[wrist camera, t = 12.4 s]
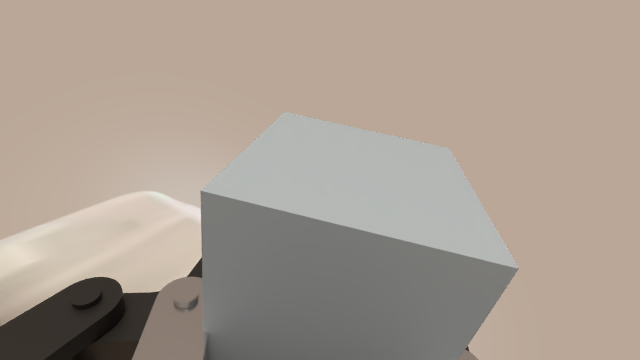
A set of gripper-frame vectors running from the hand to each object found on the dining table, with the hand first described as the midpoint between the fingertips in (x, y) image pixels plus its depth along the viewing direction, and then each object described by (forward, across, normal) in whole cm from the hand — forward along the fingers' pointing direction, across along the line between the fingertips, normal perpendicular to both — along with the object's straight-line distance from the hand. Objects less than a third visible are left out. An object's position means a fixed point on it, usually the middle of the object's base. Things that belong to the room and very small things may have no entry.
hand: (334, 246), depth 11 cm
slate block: (-3, 0, +6) cm, 7 cm away
